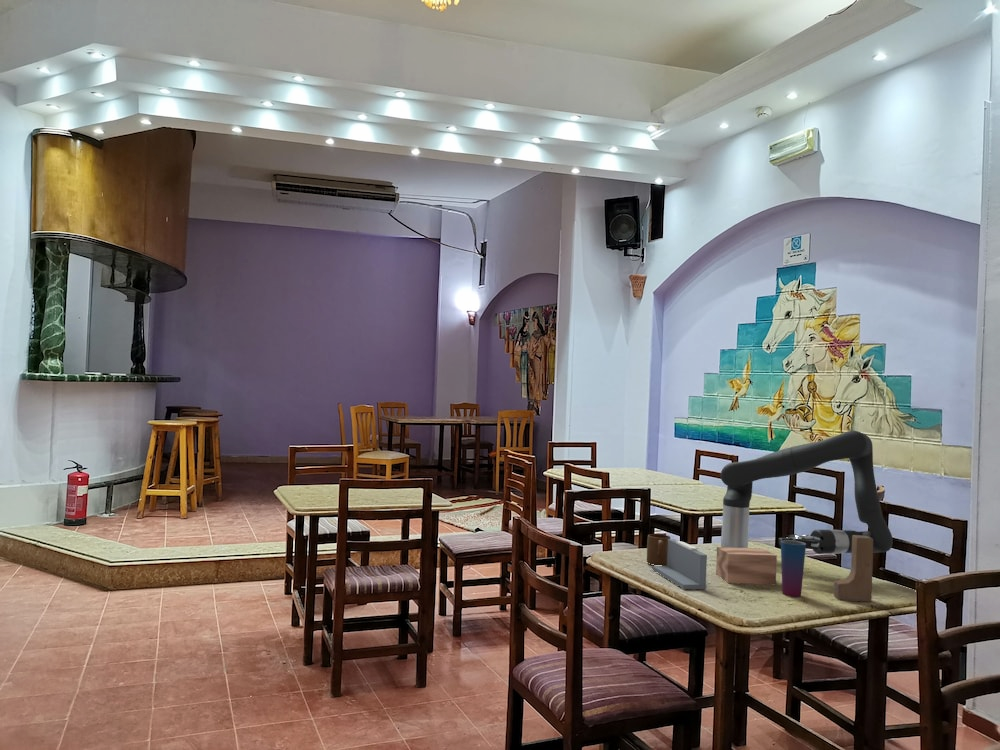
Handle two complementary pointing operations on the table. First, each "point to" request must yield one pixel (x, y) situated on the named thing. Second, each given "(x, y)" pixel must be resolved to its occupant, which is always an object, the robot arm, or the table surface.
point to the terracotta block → (746, 565)
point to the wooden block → (858, 572)
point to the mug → (657, 549)
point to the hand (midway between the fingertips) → (780, 541)
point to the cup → (792, 567)
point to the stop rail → (684, 565)
